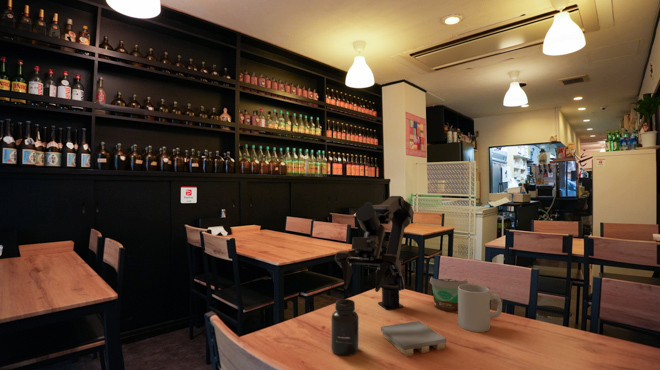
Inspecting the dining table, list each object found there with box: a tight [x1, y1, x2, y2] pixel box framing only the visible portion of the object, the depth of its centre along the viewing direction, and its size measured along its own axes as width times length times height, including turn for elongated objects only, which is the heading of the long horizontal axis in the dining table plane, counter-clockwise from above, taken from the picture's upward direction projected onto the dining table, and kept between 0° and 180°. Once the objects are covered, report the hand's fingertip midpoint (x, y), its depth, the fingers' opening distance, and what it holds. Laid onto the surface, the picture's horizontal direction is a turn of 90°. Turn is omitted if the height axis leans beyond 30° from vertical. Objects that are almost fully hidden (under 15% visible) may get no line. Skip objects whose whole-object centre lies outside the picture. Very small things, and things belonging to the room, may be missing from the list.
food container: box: [429, 275, 469, 313], centre depth 110 cm, size 12×6×10 cm, turn 68°
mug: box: [457, 283, 503, 333], centre depth 97 cm, size 12×8×11 cm
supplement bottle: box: [330, 298, 360, 357], centre depth 84 cm, size 7×7×12 cm
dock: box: [380, 320, 447, 357], centre depth 87 cm, size 12×12×2 cm
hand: (360, 289), depth 91 cm, fingers open, 9 cm apart
